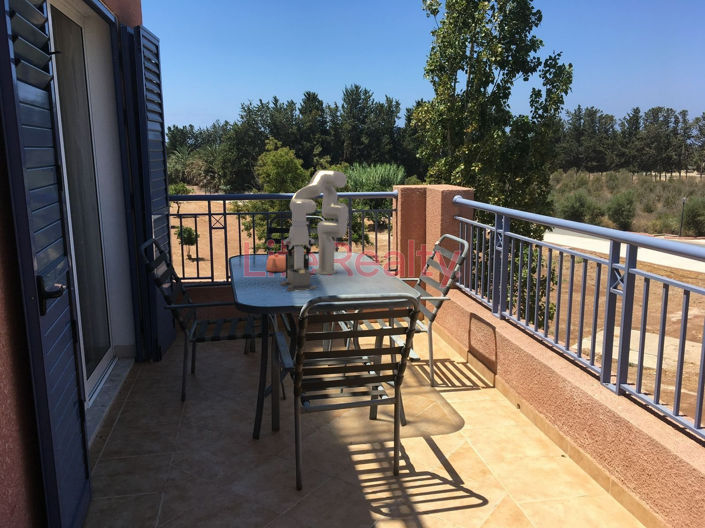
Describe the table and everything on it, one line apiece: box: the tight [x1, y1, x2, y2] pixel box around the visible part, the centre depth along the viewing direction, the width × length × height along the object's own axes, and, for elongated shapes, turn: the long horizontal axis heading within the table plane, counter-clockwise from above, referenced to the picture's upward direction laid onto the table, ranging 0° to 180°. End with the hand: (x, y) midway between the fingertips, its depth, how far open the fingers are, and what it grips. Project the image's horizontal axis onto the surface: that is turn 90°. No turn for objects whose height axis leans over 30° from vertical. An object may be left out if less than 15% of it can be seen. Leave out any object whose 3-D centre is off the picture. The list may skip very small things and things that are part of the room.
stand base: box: [280, 268, 318, 292], centre depth 305 cm, size 16×16×10 cm
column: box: [293, 245, 305, 272], centre depth 303 cm, size 5×4×16 cm
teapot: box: [265, 253, 286, 273], centre depth 341 cm, size 12×18×10 cm, turn 175°
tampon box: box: [285, 251, 310, 279], centre depth 324 cm, size 11×9×15 cm
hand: (298, 255), depth 302 cm, fingers open, 9 cm apart
